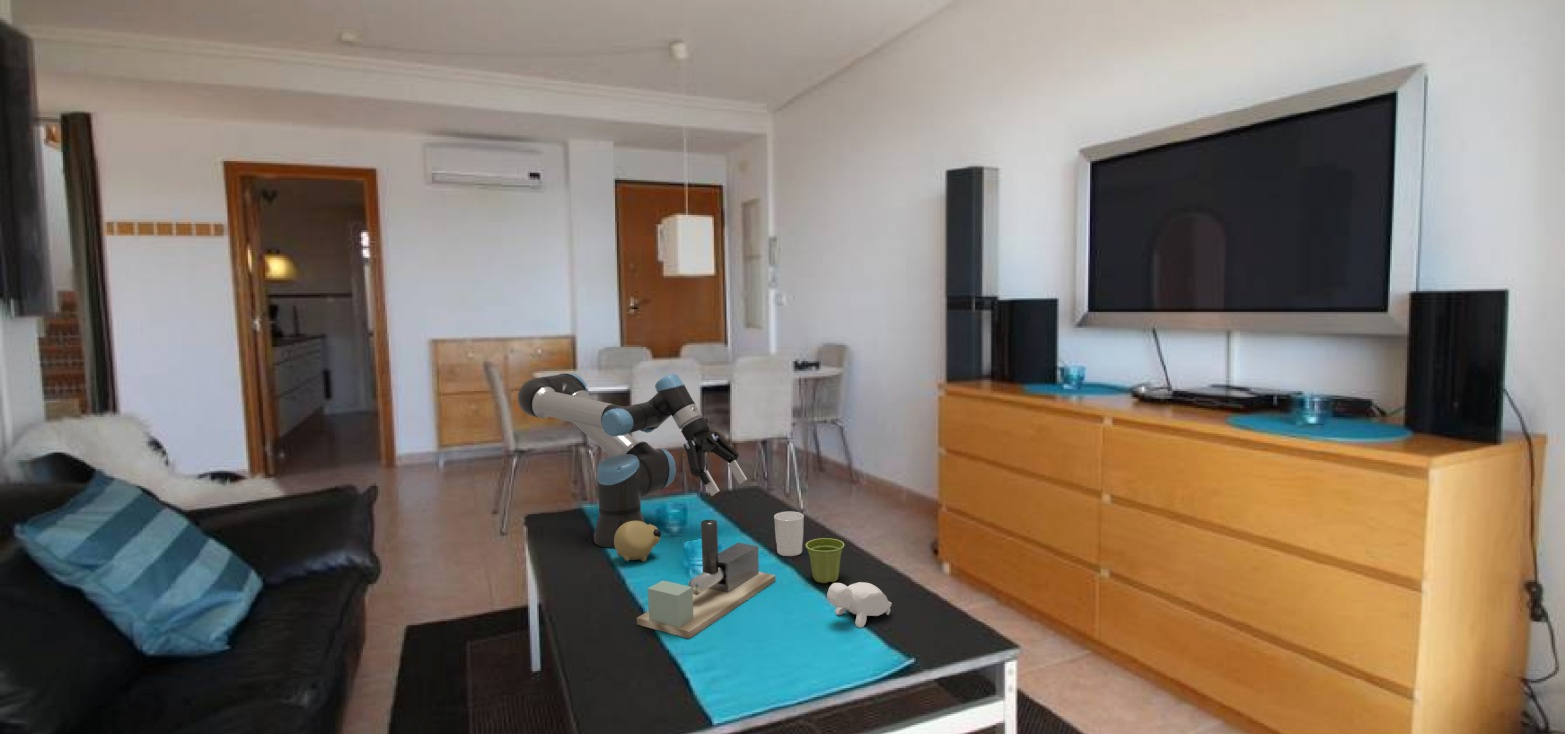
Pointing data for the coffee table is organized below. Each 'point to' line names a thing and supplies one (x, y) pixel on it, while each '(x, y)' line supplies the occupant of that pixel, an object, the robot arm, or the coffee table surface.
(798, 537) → the white cup
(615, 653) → the coffee table surface
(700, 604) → the birch base board
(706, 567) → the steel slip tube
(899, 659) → the coffee table surface
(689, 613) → the socket block
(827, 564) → the plant pot
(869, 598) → the white turtle figurine
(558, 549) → the coffee table surface
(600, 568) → the coffee table surface
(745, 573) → the outer sleeve
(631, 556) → the toy pig
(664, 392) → the robot arm
